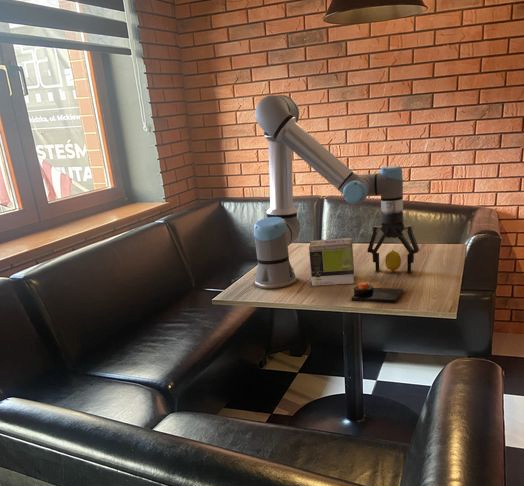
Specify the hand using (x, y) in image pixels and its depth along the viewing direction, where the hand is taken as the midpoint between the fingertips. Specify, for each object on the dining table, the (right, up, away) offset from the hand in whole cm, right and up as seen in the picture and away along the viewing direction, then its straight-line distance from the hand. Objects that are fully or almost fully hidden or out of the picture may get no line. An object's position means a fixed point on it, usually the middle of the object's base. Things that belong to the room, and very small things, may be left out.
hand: (393, 271), depth 197 cm
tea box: (-23, -4, -3) cm, 23 cm away
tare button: (-15, -8, -23) cm, 29 cm away
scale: (-11, -10, -24) cm, 28 cm away
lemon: (0, 0, 0) cm, 0 cm away
